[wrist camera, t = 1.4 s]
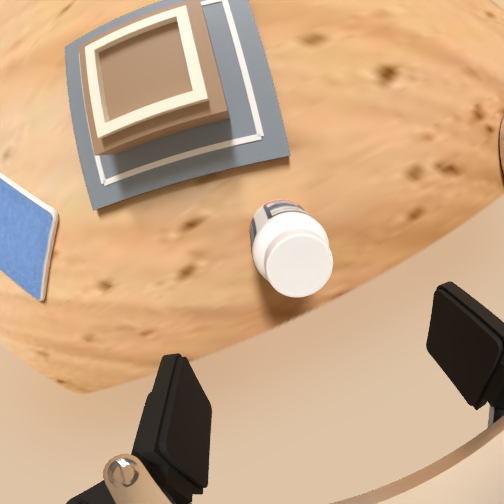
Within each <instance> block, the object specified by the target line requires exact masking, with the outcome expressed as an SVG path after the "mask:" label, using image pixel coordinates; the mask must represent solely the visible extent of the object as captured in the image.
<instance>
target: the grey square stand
mask: <svg viewBox="0 0 504 504" xmlns="http://www.w3.org/2000/svg"><path fill="white" fill-rule="evenodd" d="M65 61H66V75H67V86H68V95H69V103H70V110H71V117H72V123H73V129H74V134H75V139H76V144H77V149H78V154H79V159H80V163H81V167H82V171H83V175H84V179H85V183H86V187H87V191H88V194H89V198H90V201H91V205H92V208H93V211H94V210H96V209H99V208H102V207H104V206H107V205H110V204H113V203H115V202H118V201H121V200H124V199H127V198H130V197H133V196H136V195H139V194H142V193H145V192H148V191H151V190H154V189H158V188H161V187H164V186H167V185H171V184H174V183H178V182H181V181H185V180H188V179H192V178H195V177H199V176H203V175H206V174H210V173H214V172H218V171H222V170H226V169H230V168H234V167H239V166H243V165H247V164H252V163H256V162H261V161H266V160H270V159H275V158H280V157H286V156H291V155H290V150H289V146H288V141H287V137H286V133H285V128H284V124H283V120H282V116H281V112H280V108H279V104H278V100H277V96H276V92H275V88H274V84H273V80H272V77H271V73H270V69H269V66H268V62H267V59H266V55H265V52H264V48H263V45H262V41H261V38H260V35H259V31H258V28H257V25H256V22H255V19H254V16H253V13H252V9H251V6H250V3H249V0H162V1H159V2H157V3H154V4H151V5H148V6H146V7H143V8H140V9H138V10H135V11H133V12H131V13H128V14H126V15H124V16H121V17H119V18H117V19H115V20H113V21H111V22H108V23H106V24H104V25H102V26H100V27H98V28H97V29H95V30H93V31H91V32H89V33H87V34H85V35H84V36H82V37H80V38H78V39H77V40H75V41H73V42H72V43H70V44H68V45H67V46H65Z"/></svg>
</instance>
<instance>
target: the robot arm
mask: <svg viewBox="0 0 504 504" xmlns="http://www.w3.org/2000/svg"><path fill="white" fill-rule="evenodd" d="M500 157H501V164H502V169H503V173H504V117H503V120H502V123H501V128H500ZM426 346H427V350H428V352H429V353H430V355H431V356H432V357H433V358H434V359H435V361H436V362H437V363H438V365H439V366H440V367H441V368H442V370H443V371H444V372H445V373H446V375H447V376H448V377H449V379H450V380H451V381H452V383H453V384H454V385H455V386H456V388H457V389H458V390H459V392H460V393H461V394H462V396H463V397H464V399H465V400H466V401H467V403H468V404H469V405H471V406H474V408H475V409H476V410H478V409H479V408H481V407H482V406H483V405H485V404H486V402H487V401H488V402H489V404H490V409H489V410H490V411H489V420H488V428H487V429H486V430H484V431H483V432H482V433H480V434H479V435H478V436H476V437H475V438H473V439H472V440H470V441H469V442H467V443H466V444H465V445H463V446H461V447H460V448H458V449H457V450H455V451H453V452H452V453H450V454H448V455H447V456H445V457H443V458H441V459H440V460H438V461H436V462H434V463H433V464H431V465H429V466H427V467H425V468H423V469H421V470H419V471H417V472H415V473H413V474H411V475H409V476H406V477H404V478H402V479H400V480H398V481H395V482H393V483H391V484H388V485H386V486H383V487H381V488H378V489H375V490H373V491H370V492H367V493H364V494H361V495H358V496H355V497H352V498H349V499H345V500H342V501H339V502H335V503H331V504H504V323H503V322H502V321H501V320H500V319H499V318H498V317H496V316H495V315H494V314H493V313H492V312H490V311H489V310H488V309H486V308H485V307H484V306H483V305H482V304H480V303H479V302H478V301H476V300H475V299H474V298H472V297H471V296H470V295H469V294H468V293H466V292H465V291H464V290H462V289H461V288H460V287H458V286H457V285H456V284H454V283H453V282H447V283H444V284H442V285H439V286H438V287H437V289H436V291H435V293H434V299H433V307H432V314H431V321H430V327H429V332H428V338H427V343H426ZM211 417H212V408H211V404H210V402H209V400H208V398H207V396H206V395H205V393H204V391H203V389H202V387H201V385H200V383H199V381H198V379H197V378H196V376H195V374H194V372H193V370H192V368H191V366H190V364H189V361H188V359H187V358H186V357H182V356H181V355H180V354H170V355H164V356H163V357H162V360H161V363H160V366H159V370H158V373H157V376H156V379H155V383H154V386H153V389H152V392H150V393H149V395H148V397H147V400H146V403H145V406H144V410H143V413H142V417H141V420H140V424H139V428H138V431H137V435H136V438H135V442H134V446H133V450H132V454H131V455H129V454H121V455H118V456H115V457H113V458H112V459H111V460H109V462H108V463H107V464H106V466H105V468H104V471H103V477H104V480H103V481H101V482H100V483H98V484H97V485H95V486H93V487H91V488H90V489H88V490H86V491H84V492H83V493H81V494H79V495H77V496H75V497H73V498H72V499H70V500H69V501H68V502H67V503H66V504H192V503H191V502H192V494H203V488H206V487H207V485H208V470H209V449H210V433H211V432H210V431H211Z"/></svg>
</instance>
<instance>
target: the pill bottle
mask: <svg viewBox="0 0 504 504" xmlns="http://www.w3.org/2000/svg"><path fill="white" fill-rule="evenodd" d="M250 240H251V249H252V255H253V260H254V263H255V266H256V268H257V270H258V271H259V273H260V274H261V275H262V276H263V277H264V278H265V279H266V280H268V281H269V282H270V284H271V285H272V287H273V288H274V289H275V290H277V291H278V292H279V293H281V294H283V295H285V296H288V297H295V298H297V297H305V296H309V295H311V294H313V293H315V292H317V291H318V290H320V289H321V288H322V287H323V286H324V285H325V284H326V282H327V281H328V279H329V277H330V275H331V272H332V269H333V258H332V254H331V251H330V249H329V241H328V237H327V234H326V232H325V230H324V229H323V227H322V226H321V225H320V224H319V222H318V221H317V220H315V219H314V218H313V217H312V216H311V215H310V214H308V213H307V212H306V211H305V210H304V209H303V208H302V207H301V206H299V205H298V204H296V203H295V202H292V201H290V200H285V199H277V200H272V201H269V202H267V203H265V204H264V205H262V206H261V207H260V208H259V209H258V210H257V211H256V212H255V214H254V216H253V218H252V220H251V223H250Z"/></svg>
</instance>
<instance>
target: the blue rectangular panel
mask: <svg viewBox="0 0 504 504" xmlns="http://www.w3.org/2000/svg"><path fill="white" fill-rule="evenodd" d="M57 224H58V213H57V211H56V210H55V209H54V208H52V207H51V206H49V205H47V204H46V203H44V202H43V201H41V200H40V199H38V198H36V197H35V196H33V195H32V194H30V193H29V192H27V191H26V190H25V189H23V188H22V187H20V186H19V185H17V184H16V183H14V182H13V181H12V180H10V179H9V178H7V177H6V176H5V175H3V174H2V173H0V270H1V271H2V272H3V273H4V274H5V275H7V276H8V277H9V278H10V279H11V280H12V281H14V282H15V283H16V284H17V285H18V286H20V287H21V288H22V289H23V290H25V291H26V292H27V293H28V294H30V295H31V296H32V297H34V298H35V299H36V300H38V301H43V300H44V299H45V295H46V288H47V280H48V273H49V267H50V261H51V255H52V250H53V245H54V240H55V235H56V230H57Z"/></svg>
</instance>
